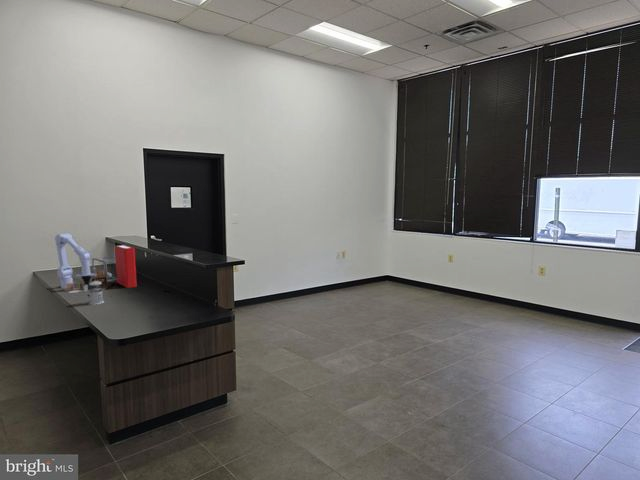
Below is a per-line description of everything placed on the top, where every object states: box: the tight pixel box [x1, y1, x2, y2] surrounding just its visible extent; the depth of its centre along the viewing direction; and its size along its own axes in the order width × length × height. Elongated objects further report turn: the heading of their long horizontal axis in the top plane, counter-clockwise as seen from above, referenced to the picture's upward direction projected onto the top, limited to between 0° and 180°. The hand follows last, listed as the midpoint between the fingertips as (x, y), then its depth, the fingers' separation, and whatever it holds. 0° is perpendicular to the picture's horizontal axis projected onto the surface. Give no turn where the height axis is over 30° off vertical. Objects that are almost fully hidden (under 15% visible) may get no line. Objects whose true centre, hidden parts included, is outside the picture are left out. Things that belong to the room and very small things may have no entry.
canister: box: [66, 282, 74, 291], centre depth 328 cm, size 4×4×4 cm
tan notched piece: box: [63, 282, 84, 292], centre depth 328 cm, size 6×12×6 cm, turn 98°
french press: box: [88, 267, 105, 306], centre depth 293 cm, size 10×12×25 cm
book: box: [114, 243, 138, 289], centre depth 348 cm, size 27×8×32 cm, turn 41°
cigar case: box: [91, 268, 108, 284], centre depth 353 cm, size 11×2×12 cm, turn 124°
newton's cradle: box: [91, 256, 117, 282], centre depth 372 cm, size 30×10×18 cm, turn 48°
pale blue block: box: [67, 284, 89, 294], centre depth 321 cm, size 6×12×6 cm, turn 98°
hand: (87, 285), depth 330 cm, fingers closed
